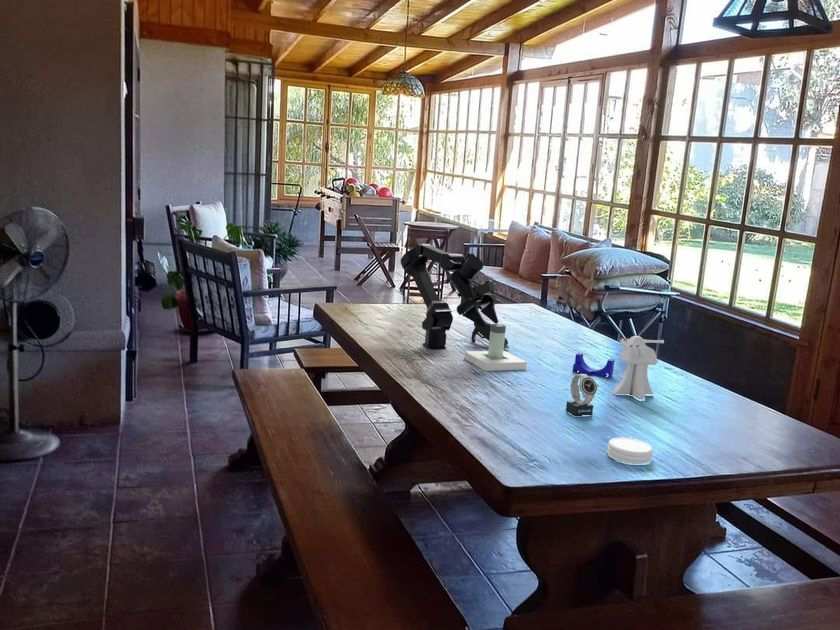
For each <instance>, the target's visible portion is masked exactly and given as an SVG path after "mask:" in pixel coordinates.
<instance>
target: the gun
mask: <svg viewBox="0 0 840 630" xmlns="http://www.w3.org/2000/svg"><path fill="white" fill-rule="evenodd" d="M484 322H485V324H486V326H485V327H482V326H480V325H478V324H477V323H475V322H473V326H474V328H473V330H472V333H471V342H472V343H473V342H475V343H476V338H477V336H478V337H479V338H480V339H486V340H487V341H488V342H489V339H490V330H491V324H492V323H489V322H487V321H485V320H484ZM508 344H509V341H508V339H507V338H506V337H505V341H504V350H505V349H506V350H508V349H509V347H510V346H509V345H508Z"/></svg>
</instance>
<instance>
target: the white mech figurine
mask: <svg viewBox="0 0 840 630" xmlns="http://www.w3.org/2000/svg"><path fill="white" fill-rule="evenodd" d="M618 341H619V342H620V344H621V345H622V346H623V348H622V350H621V352H620V354H619V358H620V359H621V360H623V361H624V362H626V366H625V367H626V368H625V372H624V374H623V376H622V377H621V380H620V381H619V383H618V384H617V386H616V387H615V388H614V389H613V390H612V394H613V393H614V394H630V395H633V396H635V397H636V398H638V399H644V398H646V399H647V397H645V394H655V393H654V392H653V390H652V388H651V385H650V382H649V377H648V368H649V366H656V364H658V362H659V361H658V359H657V358H658V357H657V353H656V351H655V350H654V349H653V348H651V347H649V346H647V344H648V343H649V344H651V343H653V344H655V343H656V344H664V343H665V340H664V339H657V340H655V339H654V340H653V339H644V338H643V337H641V336H639V335H633V336H630V338H629V337H627V338H625V339H624V337H620V338H619V340H618ZM614 394H613V395H614Z"/></svg>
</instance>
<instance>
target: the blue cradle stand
mask: <svg viewBox="0 0 840 630" xmlns="http://www.w3.org/2000/svg"><path fill="white" fill-rule="evenodd" d="M574 357H575V358H574V363H573V364H572V373H574V372H577V371H579V372H578V373H577V374H579V373H581V374H587V375H591V376H594V375H596V376H595V377H599V376H602V377H601V378H604V377H606V376H607V375H608V377H607V378H606V379H609V378H610V379H612V377H613V375H614V368H615V361H616V359H614V358H609V359H607V361H606V365H605V366H603V368H600V369H597V368H593V367H590V366H589V365H588V364H586V362H585V359H584V353H582V352H578V353H575V356H574Z"/></svg>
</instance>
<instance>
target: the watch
mask: <svg viewBox="0 0 840 630" xmlns="http://www.w3.org/2000/svg"><path fill="white" fill-rule="evenodd" d="M569 386H570V395H571V398H572V400H567V401H566V406H565V412H566V411H567V412H569V413H571V414H572V415H574V416H582V415H592V416H593V412H594V405H593V404H592V403H591V402H592V401H593V399H594V398H595V395H596V392H597V391H598V385H597V382H596V381H595V380H594V379H593V378H592V377H591V376H588V375H587V374H579V373H575V374H574V375H573V377H572V378H571V382H570V385H569ZM580 392H581V393H580ZM581 395H582V397H583V400H582V399H581Z"/></svg>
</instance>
